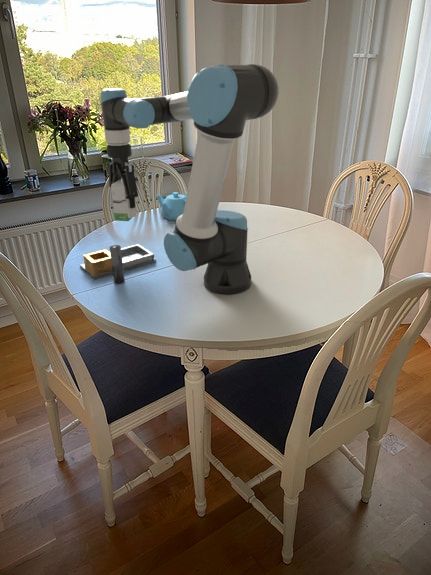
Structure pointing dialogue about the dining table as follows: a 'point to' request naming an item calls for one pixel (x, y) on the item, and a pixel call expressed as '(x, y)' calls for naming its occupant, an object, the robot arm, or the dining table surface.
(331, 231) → the dining table surface
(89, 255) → the two-compartment tray
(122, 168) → the robot arm
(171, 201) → the teapot
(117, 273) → the round pin
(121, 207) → the ink box
